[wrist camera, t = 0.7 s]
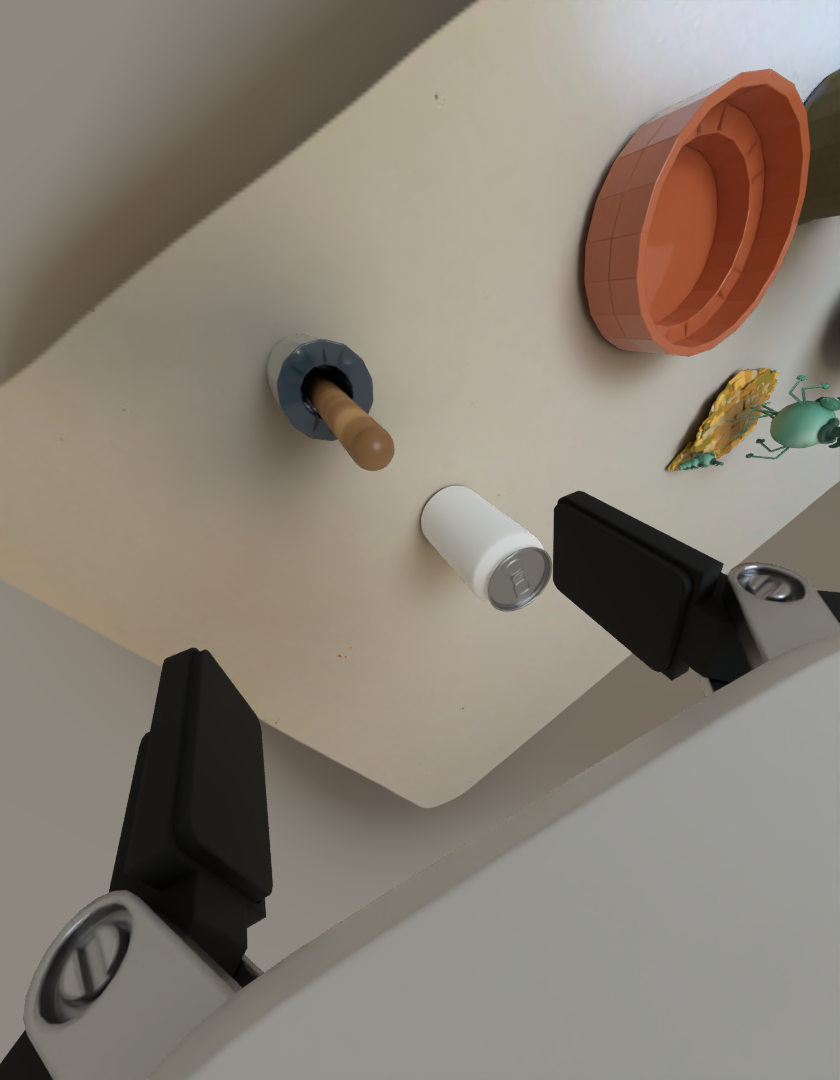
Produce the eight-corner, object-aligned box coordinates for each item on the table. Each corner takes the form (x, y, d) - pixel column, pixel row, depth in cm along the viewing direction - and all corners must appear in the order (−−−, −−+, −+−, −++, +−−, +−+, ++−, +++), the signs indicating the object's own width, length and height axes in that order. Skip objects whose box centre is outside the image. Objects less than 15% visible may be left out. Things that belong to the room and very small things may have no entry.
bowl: (581, 124, 27) (656, 83, 23) (748, 98, 31) (843, 58, 26) (574, 370, 36) (626, 378, 32) (704, 327, 40) (768, 329, 35)
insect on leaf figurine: (660, 420, 44) (832, 445, 32) (761, 337, 47) (953, 333, 35) (664, 486, 49) (813, 529, 38) (755, 409, 53) (918, 426, 41)
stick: (290, 366, 27) (351, 442, 15) (315, 359, 27) (396, 427, 15) (299, 393, 28) (363, 483, 16) (323, 386, 28) (404, 469, 16)
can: (464, 470, 37) (546, 525, 27) (486, 520, 41) (564, 583, 31) (408, 508, 36) (471, 578, 27) (434, 555, 40) (498, 630, 31)
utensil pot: (253, 345, 26) (260, 354, 19) (329, 325, 27) (359, 329, 21) (283, 422, 29) (297, 452, 22) (351, 401, 30) (383, 424, 24)
